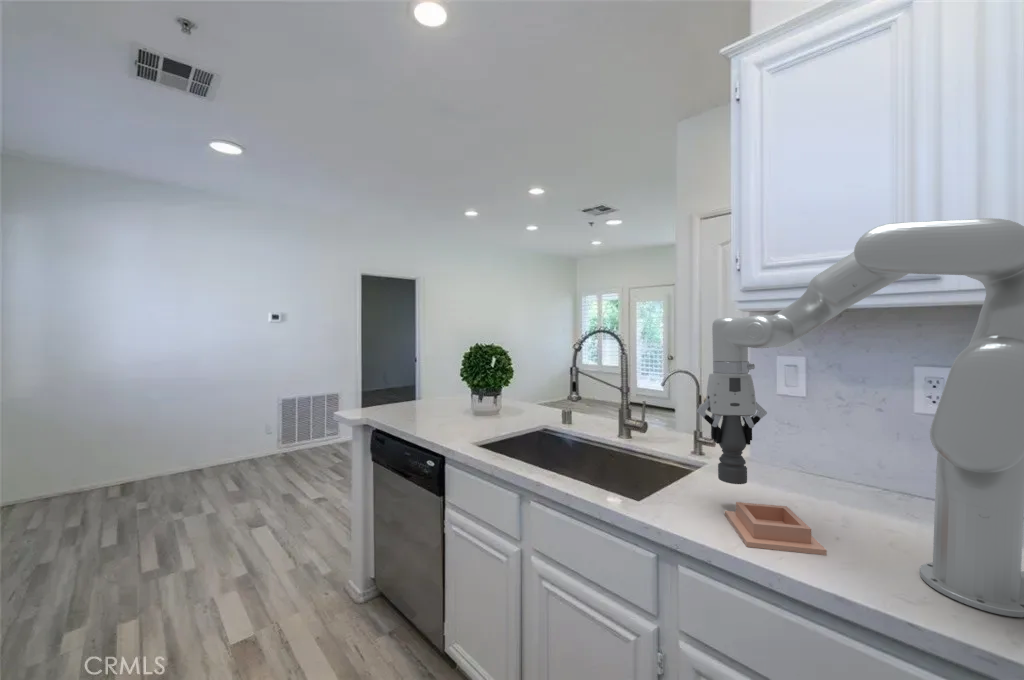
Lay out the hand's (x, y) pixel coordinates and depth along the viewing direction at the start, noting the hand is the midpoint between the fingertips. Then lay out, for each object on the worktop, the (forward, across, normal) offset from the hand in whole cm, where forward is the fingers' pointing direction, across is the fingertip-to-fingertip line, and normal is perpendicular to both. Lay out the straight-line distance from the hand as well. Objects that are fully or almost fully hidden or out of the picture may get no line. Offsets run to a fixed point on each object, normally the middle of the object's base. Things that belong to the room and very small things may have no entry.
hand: (731, 442), depth 97 cm
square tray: (+16, -4, +11) cm, 20 cm away
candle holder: (+9, 0, 0) cm, 9 cm away
